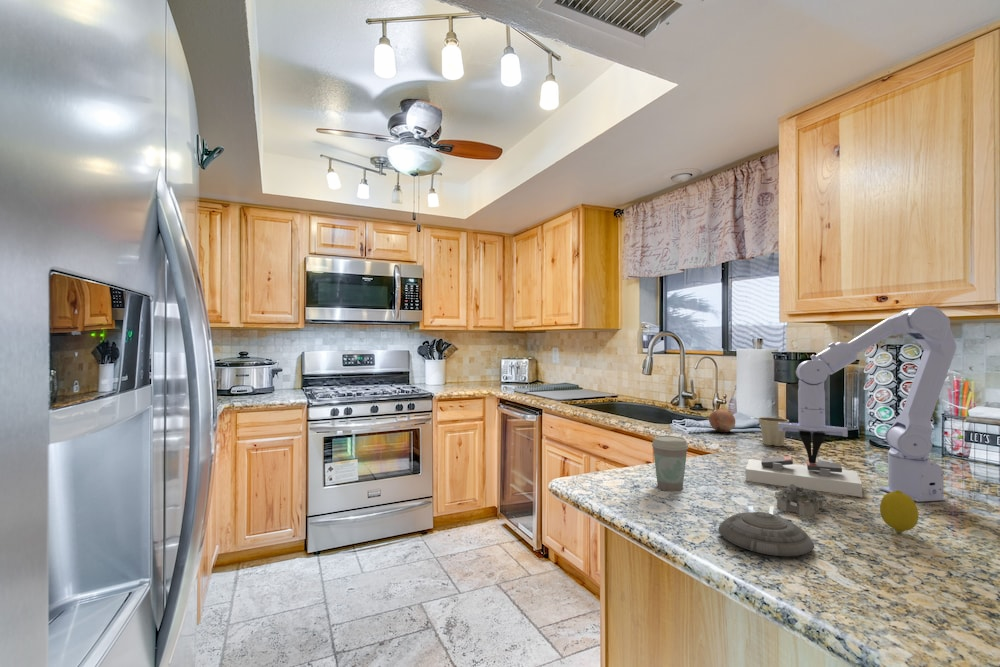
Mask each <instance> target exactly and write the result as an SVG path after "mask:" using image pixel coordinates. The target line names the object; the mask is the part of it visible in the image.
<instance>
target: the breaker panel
mask: <svg viewBox="0 0 1000 667" xmlns="http://www.w3.org/2000/svg"><path fill="white" fill-rule="evenodd" d="M773 458H775V456H774V457H773ZM761 461H762V459H754V458H749V459H748V461H747V465H746V467H745V481H746V482H750V483H751V482H753V483H758V484H760V483H761V484H766V485H767V484H768V485H774V486H780V487H786V488H788V487H789V486H790V485H791V484H793V485H795V486H797V487H800V488H802V487H803V488H805V489H809V490H811V491H816V492H822V493H823V492H824V493H830V494H840V495H845V496H852V497H853V496H854V497H860V498H863V483H862V481H861V479H860V476H859V474H858V473H857V471H856V470H855V471H854V470H848V469H846V470H842V472H830V469H824V468H820V471H816V470H808V469H807V465H805V464H804V465H803V464H794V463H793V464H792V465H782V463H773V466H762V464H761Z"/></svg>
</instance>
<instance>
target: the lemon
mask: <svg viewBox="0 0 1000 667" xmlns="http://www.w3.org/2000/svg"><path fill="white" fill-rule="evenodd" d="M879 513H880V516H881V518H882V520H883V521H884V523H885V524H886V525H887V526H888V527H890V528H892V529H893V530H894V531H895V532H896V533H898V534H902V533H903V532H905V531H911V530H912V529H913V528H914V527H916V525H917V524H918V521H919V511H918V507H917V504H916V501H914V500H913V499H912V498H910V497H909V496H908V495H906V494H904V493H902V492H901V491H899V490H896V491H895V492H887V493H886V494H884V496H883V497H882V498H881V501H880V503H879Z"/></svg>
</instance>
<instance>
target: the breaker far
mask: <svg viewBox="0 0 1000 667" xmlns="http://www.w3.org/2000/svg"><path fill="white" fill-rule="evenodd" d="M774 457H775V456H774ZM774 457H766V458H765V457H763V458H761V460H762V461H761V464H762V466H773V463H782V465H792V464H794V458H793V456H792V455H789V456H778V457H777V456H776V457H775V458H774Z"/></svg>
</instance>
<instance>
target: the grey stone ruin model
mask: <svg viewBox="0 0 1000 667" xmlns="http://www.w3.org/2000/svg"><path fill="white" fill-rule="evenodd" d="M774 496H775V497H774V498H775V499H776V508H778V509H780V510H781V511H783V512H794V513H797V514H798V515H800V516H802V517H806V516H807V517H808V516H810V517H814V516H815V513H818V512H819V510H820V509H824V501H825V500H826V494H824V493H821V494H819V493H817V491H816V490H809V489H805V488H803V487H802V488H800V487H797V486H795V485H793V484H791V485H790V486H789V487H783V488H782V489H781V490H779V491H775V492H774ZM794 501H796V502H794Z"/></svg>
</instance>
